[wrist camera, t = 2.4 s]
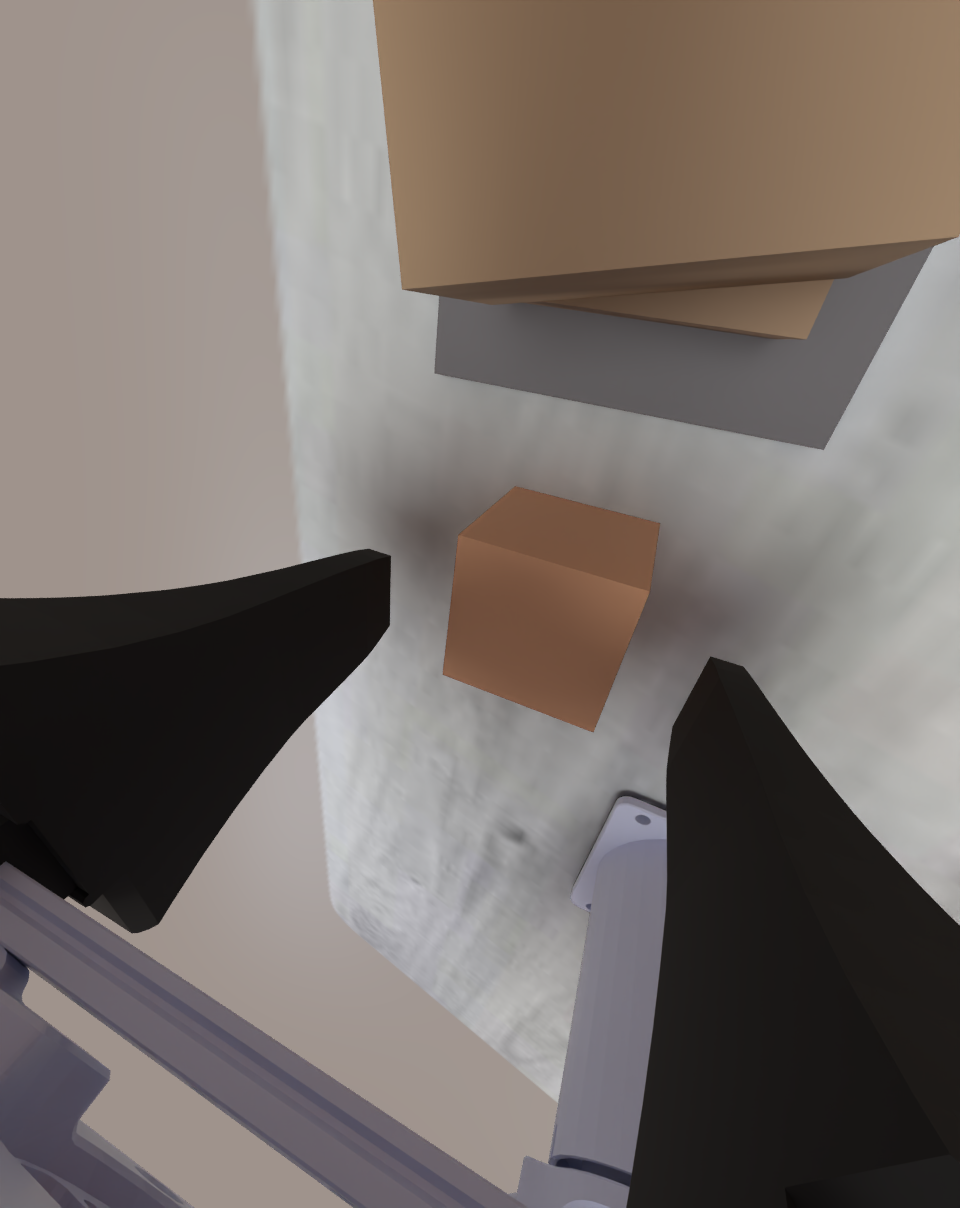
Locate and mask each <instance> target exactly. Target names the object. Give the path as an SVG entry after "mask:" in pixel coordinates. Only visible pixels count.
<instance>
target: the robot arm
mask: <svg viewBox="0 0 960 1208" xmlns="http://www.w3.org/2000/svg"><path fill="white" fill-rule="evenodd" d="M390 577H391V556H390V555H387V554H384V553H380V552H377V551H374V550H371V549H364V550H357V551H352V552H348V553H343V554H339V555H335V556H331V557H327V558H323V559H319V560H315V561H311V562H307V563H303V564H299V565H295V566H291V567H287V568H283V569H279V570H274V571H270V572H265V573H261V574H256V575H252V576H247V577H243V578H238V579H233V580H228V581H223V582H217V583H211V584H205V585H198V586H192V587H185V588H178V589H171V590H161V591H151V592H139V593H128V594H117V595H105V596H87V597H66V598H65V597H64V598H15V599H14V598H11V599H10V598H0V1208H194V1207H193V1206H191V1205H190V1204H189V1203H188V1202H186V1201H185V1200H183V1199H182V1198H181V1197H180V1196H178V1195H177V1194H176V1193H175V1192H173V1191H172V1190H171V1189H169V1188H168V1187H167V1186H165V1185H164V1184H163V1183H161V1182H160V1181H159V1180H158V1179H156V1178H155V1177H153V1176H152V1175H151V1174H150V1173H148V1172H147V1171H146V1170H145V1169H143V1168H142V1167H141V1166H139V1165H138V1164H137V1163H135V1162H134V1161H133V1160H132V1159H130V1158H129V1157H128V1156H126V1155H125V1154H124V1153H123V1152H121V1151H120V1150H119V1149H117V1148H116V1147H115V1146H113V1145H112V1144H111V1143H110V1142H108V1141H107V1140H106V1139H104V1138H103V1137H102V1136H101V1135H99V1134H98V1133H97V1132H95V1131H94V1130H93V1129H91V1128H90V1127H89V1126H88V1125H86V1124H85V1123H84V1122H82V1121H81V1120H80V1118H81V1117H82V1115H83V1114H84V1112H85V1111H86V1110H87V1109H88V1107H89V1106H90V1104H91V1103H92V1102H93V1101H94V1100H95V1098H96V1097H97V1096H98V1094H99V1093H100V1092H101V1091H102V1089H103V1088H104V1087H105V1085H106V1084H107V1083H108V1081H109V1079H110V1070H109V1069H108V1068H107V1067H105V1066H104V1065H103V1064H101V1063H100V1062H99V1061H98V1060H96V1059H95V1058H94V1057H93V1056H91V1055H90V1054H89V1053H88V1052H86V1051H85V1050H84V1049H82V1048H81V1047H80V1046H78V1045H77V1044H76V1043H74V1042H73V1041H72V1040H71V1039H69V1038H68V1037H67V1036H65V1035H64V1034H63V1033H61V1032H60V1031H59V1030H57V1029H56V1028H55V1027H53V1026H52V1025H51V1024H49V1023H48V1022H47V1021H45V1020H44V1019H43V1018H41V1017H40V1016H38V1015H37V1014H36V1013H35V1012H33V1011H32V1010H31V1009H29V1008H28V1007H27V1006H25V1004H24V1003H23V1002H22V993H23V990H24V988H25V986H26V984H27V982H28V978H29V970H28V968H29V969H30V970H32V971H33V972H34V973H36V974H37V975H38V976H40V977H41V978H43V979H44V980H45V981H46V982H48V983H49V984H51V985H52V986H53V987H55V988H56V989H57V990H59V991H60V992H61V993H63V994H65V995H66V996H67V997H69V998H70V999H71V1000H72V1001H74V1002H75V1003H77V1004H78V1005H79V1006H81V1007H82V1008H83V1009H85V1010H86V1011H87V1012H89V1013H90V1014H91V1015H93V1016H94V1017H95V1018H97V1019H98V1020H99V1021H101V1022H102V1023H104V1024H105V1025H106V1026H108V1027H109V1028H110V1029H112V1030H113V1031H114V1032H116V1033H117V1034H118V1035H120V1036H121V1037H123V1038H124V1039H125V1040H127V1041H128V1042H129V1043H131V1044H132V1045H133V1046H135V1047H136V1048H137V1049H139V1050H140V1051H142V1052H143V1053H144V1054H146V1055H147V1056H148V1057H150V1058H151V1059H152V1060H154V1061H155V1062H156V1063H158V1064H159V1065H161V1066H162V1067H163V1068H165V1069H166V1070H167V1071H169V1072H170V1073H171V1074H173V1075H174V1076H176V1077H177V1078H178V1079H180V1080H181V1081H182V1082H184V1083H185V1084H187V1085H188V1086H189V1087H190V1088H192V1089H193V1090H195V1091H196V1092H197V1093H199V1094H200V1095H201V1096H203V1097H204V1098H205V1099H207V1100H208V1101H210V1102H211V1103H212V1104H213V1105H215V1106H216V1107H218V1108H219V1109H220V1110H222V1111H223V1112H224V1113H226V1114H227V1115H229V1116H230V1117H231V1118H232V1119H234V1120H235V1121H237V1122H238V1123H239V1124H241V1125H242V1126H243V1127H245V1128H246V1129H248V1130H249V1131H250V1132H251V1133H253V1134H254V1135H256V1136H257V1137H258V1138H260V1139H261V1140H262V1141H264V1142H265V1143H266V1144H268V1145H269V1146H270V1147H272V1148H274V1149H275V1150H276V1151H277V1152H279V1153H280V1154H281V1155H283V1156H284V1157H285V1158H287V1159H288V1160H290V1161H291V1162H292V1163H294V1164H295V1165H296V1166H298V1167H299V1168H300V1169H302V1170H303V1171H305V1172H306V1173H307V1174H309V1175H310V1176H311V1177H313V1178H314V1179H315V1180H317V1181H318V1182H319V1183H321V1184H322V1185H324V1186H325V1187H326V1188H328V1189H329V1190H330V1191H332V1192H333V1193H334V1194H336V1195H337V1196H339V1197H340V1198H341V1199H342V1200H344V1201H345V1202H347V1203H348V1204H349V1205H351V1206H352V1207H353V1208H960V925H958V924H957V923H956V922H955V921H954V920H953V919H952V918H951V917H950V916H949V915H948V914H947V913H946V912H945V911H944V910H943V909H942V908H941V907H940V906H939V905H938V904H937V903H936V902H935V901H934V900H933V899H932V898H931V897H930V896H929V895H928V894H927V893H926V892H925V891H924V890H923V889H922V887H921V886H920V885H919V884H918V883H917V882H916V881H915V880H914V879H913V878H912V877H911V876H910V875H909V874H908V873H907V872H906V870H905V869H904V868H903V867H902V866H901V865H900V864H899V863H898V862H897V861H896V860H895V859H894V858H893V856H892V855H891V854H890V853H889V852H888V851H887V850H886V849H885V848H884V847H883V846H882V845H881V843H880V842H879V841H878V840H877V839H876V838H875V837H874V836H873V835H872V834H871V832H870V831H869V830H868V829H867V828H866V827H865V826H864V824H863V823H862V822H861V821H860V820H859V819H858V818H857V816H856V815H855V814H854V813H853V812H852V810H851V809H850V808H849V807H848V806H847V804H846V803H845V802H844V801H843V799H842V798H841V797H840V796H839V795H838V793H837V792H836V791H835V790H834V788H833V787H832V786H831V785H830V784H829V782H828V781H827V780H826V779H825V777H824V776H823V775H822V774H821V772H820V771H819V770H818V768H817V767H816V766H815V764H814V763H813V762H812V761H811V759H810V758H809V757H808V755H807V754H806V753H805V751H804V750H803V749H802V747H801V746H800V745H799V743H798V742H797V741H796V739H795V738H794V736H793V735H792V734H791V732H790V731H789V730H788V728H787V727H786V725H785V724H784V723H783V721H782V720H781V718H780V717H779V715H778V714H777V713H776V711H775V710H774V708H773V707H772V705H771V704H770V703H769V701H768V700H767V698H766V697H765V695H764V694H763V693H762V691H761V690H760V688H759V687H758V685H757V684H756V683H755V681H754V680H753V678H752V677H751V676H750V674H749V673H748V672H747V671H746V669H745V668H744V667H743V666H739V665H736V664H733V663H730V662H727V661H724V660H720V659H717V658H714V657H711V656H710V658H709V660H708V662H707V664H706V666H705V667H704V669H703V671H702V673H701V675H700V677H699V679H698V680H697V682H696V684H695V686H694V688H693V690H692V691H691V693H690V695H689V697H688V699H687V701H686V703H685V704H684V706H683V708H682V710H681V712H680V714H679V716H678V717H677V719H676V721H675V723H674V725H673V727H672V734H671V741H670V747H669V755H668V763H667V778H666V811H665V810H663V809H660V808H658V807H655V806H653V805H650V804H648V803H645V802H643V801H641V800H638V799H636V798H633V797H629V796H623V797H620V798H618V799H617V800H616V802H615V804H614V806H613V808H612V810H611V812H610V814H609V816H608V818H607V820H606V822H605V824H604V826H603V828H602V830H601V832H600V834H599V836H598V838H597V840H596V842H595V844H594V846H593V848H592V850H591V852H590V854H589V856H588V858H587V860H586V862H585V864H584V866H583V868H582V870H581V872H580V874H579V876H578V878H577V880H576V882H575V884H574V886H573V888H572V891H571V895H570V899H571V901H572V903H574V904H575V905H576V906H578V907H580V908H582V909H584V910H586V911H588V912H590V916H589V922H588V928H587V934H586V940H585V946H584V952H583V958H582V964H581V970H580V976H579V982H578V988H577V994H576V1000H575V1006H574V1012H573V1018H572V1024H571V1030H570V1036H569V1042H568V1048H567V1053H566V1059H565V1065H564V1071H563V1077H562V1083H561V1089H560V1095H559V1101H558V1108H557V1114H556V1119H555V1125H554V1132H553V1137H552V1144H551V1149H550V1155H549V1161H548V1163H549V1164H546V1163H543V1162H541V1161H538V1160H536V1159H534V1158H531V1157H529V1156H525V1157H524V1160H523V1165H522V1170H521V1175H520V1180H519V1185H518V1190H517V1193H511V1194H507V1193H505V1192H504V1191H502V1190H501V1189H499V1188H498V1187H496V1186H495V1185H493V1184H492V1183H490V1182H489V1181H487V1180H486V1179H484V1178H483V1177H481V1176H480V1175H478V1174H477V1173H475V1172H474V1171H472V1170H471V1169H469V1168H468V1167H466V1166H465V1165H463V1164H462V1163H460V1162H458V1161H457V1160H456V1159H454V1158H452V1157H451V1156H450V1155H448V1154H447V1153H445V1152H444V1151H442V1150H440V1149H439V1148H438V1147H436V1146H434V1145H433V1144H431V1143H430V1142H428V1141H427V1140H425V1139H424V1138H422V1137H421V1136H419V1135H418V1134H416V1133H415V1132H413V1131H412V1130H410V1129H409V1128H407V1127H406V1126H404V1125H403V1124H401V1123H400V1122H398V1121H397V1120H395V1119H394V1118H392V1117H391V1116H389V1115H388V1114H386V1113H385V1112H383V1111H382V1110H380V1109H379V1108H377V1107H376V1106H374V1105H372V1104H371V1103H370V1102H368V1101H366V1100H365V1099H364V1098H362V1097H361V1096H359V1095H358V1094H356V1093H355V1092H353V1091H351V1090H350V1089H349V1088H347V1087H346V1086H344V1085H342V1084H341V1083H339V1082H338V1081H336V1080H335V1079H333V1078H332V1077H330V1076H329V1075H327V1074H326V1073H324V1072H323V1071H321V1070H320V1069H318V1068H317V1067H315V1066H314V1065H312V1064H311V1063H309V1062H308V1061H306V1060H305V1059H303V1058H302V1057H300V1056H299V1055H297V1054H296V1053H294V1052H292V1051H291V1050H289V1049H288V1048H287V1047H285V1046H283V1045H282V1044H281V1043H279V1042H278V1041H276V1040H275V1039H273V1038H272V1037H270V1036H269V1035H267V1034H265V1033H264V1032H263V1031H261V1030H260V1029H258V1028H257V1027H255V1026H254V1025H252V1024H251V1023H249V1022H247V1021H246V1020H244V1019H243V1018H241V1017H240V1016H238V1015H237V1014H235V1013H234V1012H232V1011H231V1010H229V1009H228V1008H226V1007H225V1006H223V1005H222V1004H220V1003H219V1002H217V1001H216V1000H214V999H213V998H211V997H210V996H208V995H207V994H205V993H204V992H202V991H201V990H199V989H198V988H196V987H195V986H193V985H192V984H190V983H189V982H187V981H186V980H184V979H182V978H181V977H180V976H178V975H177V974H175V973H173V972H172V971H170V970H169V969H168V968H166V967H164V966H163V965H162V964H160V963H158V962H157V961H155V960H154V959H152V958H151V957H149V956H148V955H146V954H145V953H143V952H142V951H140V950H139V949H137V948H136V947H134V946H133V945H131V944H130V943H128V942H127V941H125V940H124V939H122V938H121V937H119V936H118V935H116V934H115V933H113V932H112V931H110V930H109V929H107V928H106V927H104V926H103V925H101V924H100V923H98V922H97V921H95V920H94V919H92V918H91V917H89V916H87V915H86V914H85V913H83V912H81V911H80V910H79V909H77V908H76V907H74V906H73V905H71V904H70V903H68V902H66V901H65V900H64V899H65V898H66V897H67V896H69V897H70V898H72V899H74V900H75V901H76V902H78V903H79V904H81V905H82V906H84V907H87V906H91V907H92V908H94V909H96V910H97V911H98V912H100V913H102V914H103V915H105V916H106V917H108V918H109V919H111V920H112V921H114V922H115V923H117V924H118V925H120V926H121V927H123V928H124V929H126V930H128V931H129V932H131V933H139V932H142V931H145V930H148V929H150V928H152V927H154V926H156V925H158V924H159V923H160V921H161V920H162V918H163V916H164V915H165V913H166V911H167V910H168V908H169V907H170V905H171V903H172V902H173V900H174V899H175V897H176V896H177V893H179V891H180V889H181V888H182V886H183V885H184V883H185V882H186V880H187V879H188V877H189V876H190V874H191V873H192V871H193V869H194V868H195V866H196V865H197V863H198V862H199V860H200V859H201V857H202V856H203V854H204V853H205V851H206V850H207V848H208V847H209V845H210V844H211V843H212V841H213V840H214V838H215V837H216V835H217V834H218V833H219V831H220V829H221V828H222V827H223V825H224V824H225V823H226V821H227V820H228V818H229V816H230V815H231V814H232V813H233V811H234V810H235V808H236V807H237V805H238V804H239V803H240V801H241V800H242V799H243V798H244V796H245V795H246V794H247V792H248V791H249V790H250V788H251V787H252V785H253V784H254V783H255V781H256V780H257V779H258V777H259V776H260V774H261V773H262V772H263V771H264V769H265V768H266V767H267V766H268V764H269V763H270V762H271V761H272V759H273V758H274V757H275V756H276V754H277V753H278V752H279V751H280V749H281V748H282V747H283V745H284V744H285V743H286V742H287V740H288V739H289V738H290V737H291V736H292V734H293V733H294V732H295V731H296V730H297V729H298V728H299V727H300V726H301V724H302V723H303V722H304V721H305V720H306V719H307V718H308V717H309V716H310V715H311V714H312V713H313V712H314V711H315V710H316V709H317V708H318V707H319V706H320V705H321V704H322V703H323V702H324V701H325V700H326V699H327V698H328V697H329V696H330V695H331V694H332V693H333V691H334V690H335V689H336V688H337V687H338V686H339V685H340V684H341V683H342V682H343V681H344V680H345V679H346V678H347V677H348V676H349V675H350V674H351V673H352V672H353V671H354V670H355V669H356V668H357V667H358V666H359V665H360V664H361V663H362V662H363V660H364V659H365V658H366V657H367V656H368V655H369V654H370V652H371V651H372V650H373V648H374V647H375V646H376V644H377V643H378V642H379V640H380V639H381V637H382V636H383V634H384V633H385V631H386V630H387V629H388V627H389V626H390Z"/></svg>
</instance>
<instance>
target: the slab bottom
mask: <svg viewBox="0 0 960 1208" xmlns="http://www.w3.org/2000/svg"><path fill="white" fill-rule="evenodd" d="M833 281H834V279H830V280H817V281H803V282H790V283H777V284H764V285H750V286H737V287H724V288H711V289H697V290H684V291H671V292H658V293H644V294H631V295H618V296H605V297H591V298H578V299H565V300H552V301H538V302H525V303H528V304H535V305H542V306H549V307H556V308H562V309H569V310H576V311H583V312H590V313H597V314H604V315H611V316H617V317H624V318H631V319H638V320H645V321H652V322H659V323H666V324H672V325H679V326H686V327H693V328H700V329H707V330H714V331H720V332H727V333H734V334H741V335H748V336H755V337H762V338H769V339H807V337H808V335H809V333H810V331H811V329H812V327H813V324H814V322H815V320H816V318H817V316H818V313H819V311H820V309H821V307H822V305H823V302H824V300H825V298H826V296H827V294H828V292H829V289H830V287H831V285H832V283H833Z"/></svg>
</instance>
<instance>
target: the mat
mask: <svg viewBox="0 0 960 1208" xmlns="http://www.w3.org/2000/svg"><path fill="white" fill-rule="evenodd" d="M933 247H934V246H932V247H930V248H927V249H924V250H922V251H919V252H916V253H914V254H911V255H908V256H906V257H903V258H900V259H898V260H895V261H892V262H890V263H887V264H884V265H882V266H879V267H876V268H873V269H871V270H868V271H865V272H863V273H860V274H857V275H855V276H852V277H849V278H843V279H834V281H833V283H832V285H831V287H830V289H829V292H828V294H827V296H826V298H825V300H824V302H823V305H822V307H821V309H820V311H819V313H818V316H817V318H816V320H815V322H814V324H813V327H812V329H811V331H810V333H809V335H808V337H807V339H769V338H762V337H755V336H748V335H741V334H734V333H727V332H720V331H714V330H707V329H700V328H693V327H686V326H679V325H672V324H666V323H659V322H652V321H645V320H638V319H631V318H624V317H617V316H611V315H604V314H597V313H590V312H583V311H576V310H569V309H562V308H556V307H549V306H542V305H535V304H528V303H512V304H499V305H489V304H483V303H478V302H472V301H466V300H460V299H454V298H449V297H443V296H439V310H438V326H437V342H436V358H435V373H436V374H441V375H446V376H451V377H456V378H461V379H466V380H471V381H476V382H481V383H487V384H492V385H497V386H502V387H507V388H512V389H517V390H522V391H527V392H532V393H537V394H542V395H548V396H553V397H558V398H563V399H568V400H573V401H578V402H583V403H588V404H593V405H598V406H603V407H609V408H614V409H619V410H624V411H629V412H634V413H639V414H644V415H649V416H654V417H659V418H665V419H670V420H675V421H680V422H685V423H690V424H695V425H700V426H705V427H710V428H715V429H720V430H726V431H731V432H736V433H741V434H746V435H751V436H756V437H761V438H766V439H771V440H776V441H781V442H787V443H792V444H797V445H802V446H807V447H812V448H817V449H822V450H824V448H825V447H826V445H827V443H828V441H829V439H830V437H831V435H832V434H833V432H834V430H835V428H836V426H837V424H838V422H839V421H840V419H841V417H842V415H843V413H844V411H845V410H846V408H847V406H848V404H849V402H850V400H851V398H852V397H853V395H854V393H855V391H856V389H857V387H858V385H859V384H860V382H861V380H862V378H863V376H864V374H865V372H866V371H867V369H868V367H869V365H870V363H871V361H872V359H873V358H874V356H875V354H876V352H877V350H878V348H879V347H880V345H881V343H882V341H883V339H884V337H885V335H886V334H887V332H888V330H889V328H890V326H891V324H892V322H893V321H894V319H895V317H896V315H897V313H898V311H899V309H900V308H901V306H902V304H903V302H904V300H905V298H906V297H907V295H908V293H909V291H910V289H911V287H912V285H913V284H914V282H915V280H916V278H917V276H918V274H919V272H920V271H921V269H922V267H923V265H924V263H925V261H926V259H927V258H928V256H929V254H930V252H931V250H932V248H933Z"/></svg>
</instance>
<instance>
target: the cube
mask: <svg viewBox="0 0 960 1208" xmlns="http://www.w3.org/2000/svg"><path fill="white" fill-rule="evenodd" d="M659 527H660V523H656V522H653V521H649V520H645V519H641V518H637V517H633V516H629V515H625V514H621V513H617V512H614V511H610V510H606V509H602V508H598V507H594V506H590V505H586V504H582V503H579V502H575V501H571V500H567V499H563V498H559V497H555V496H551V495H547V494H544V493H540V492H536V491H532V490H528V489H524V488H520V487H516V486H515V487H514V488H513V489H512V490H510V491H509V492H508V493H507V494H506V495H505V496H503V497H502V498H501V499H500V500H499V501H497V502H496V503H495V504H494V505H493V506H492V507H490V508H489V509H488V510H487V511H486V512H485V513H483V514H482V515H481V516H480V517H479V518H478V519H476V520H475V521H474V522H473V523H472V524H471V525H469V526H468V527H467V528H466V529H465V530H464V531H462V532H461V533H460V534H459V535H458V543H457V552H456V561H455V569H454V578H453V587H452V596H451V605H450V614H449V623H448V632H447V641H446V650H445V658H444V667H443V675H445V676H448V677H450V678H453V679H455V680H458V681H461V682H463V683H466V684H468V685H471V686H474V687H476V688H479V689H481V690H484V691H487V692H489V693H492V694H494V695H497V696H500V697H502V698H505V699H508V700H510V701H513V702H515V703H518V704H521V705H523V706H526V707H528V708H531V709H534V710H536V711H539V712H541V713H544V714H547V715H549V716H552V717H554V718H557V719H560V720H562V721H565V722H567V723H570V724H573V725H575V726H578V727H580V728H583V729H586V730H588V731H591V732H594V730H595V727H596V725H597V722H598V720H599V717H600V715H601V712H602V710H603V707H604V705H605V702H606V700H607V697H608V695H609V692H610V690H611V687H612V685H613V682H614V680H615V677H616V675H617V672H618V670H619V667H620V665H621V662H622V660H623V657H624V655H625V652H626V650H627V647H628V645H629V642H630V640H631V637H632V635H633V633H634V630H635V628H636V625H637V623H638V620H639V618H640V615H641V613H642V610H643V608H644V605H645V603H646V600H647V598H648V595H649V593H650V588H651V581H652V574H653V568H654V561H655V554H656V547H657V541H658V534H659Z"/></svg>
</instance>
